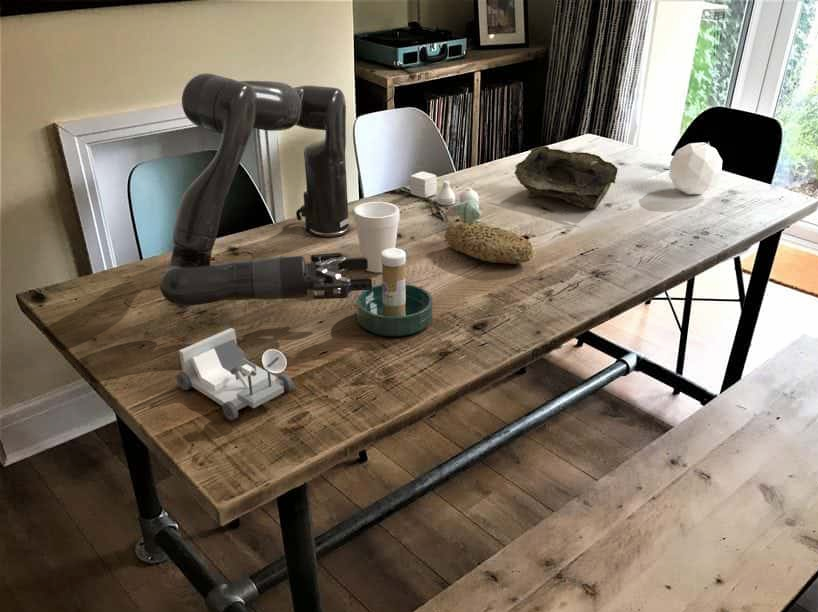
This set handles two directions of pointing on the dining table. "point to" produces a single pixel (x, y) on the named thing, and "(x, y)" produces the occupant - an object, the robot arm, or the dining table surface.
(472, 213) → the mint green faceted piece
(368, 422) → the dining table surface
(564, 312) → the dining table surface
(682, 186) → the geodesic sphere
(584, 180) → the hollow geode rock
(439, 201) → the container set
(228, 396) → the toy car
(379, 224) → the foam cup
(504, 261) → the sponge
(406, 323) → the bowl
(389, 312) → the sprinkles bottle
